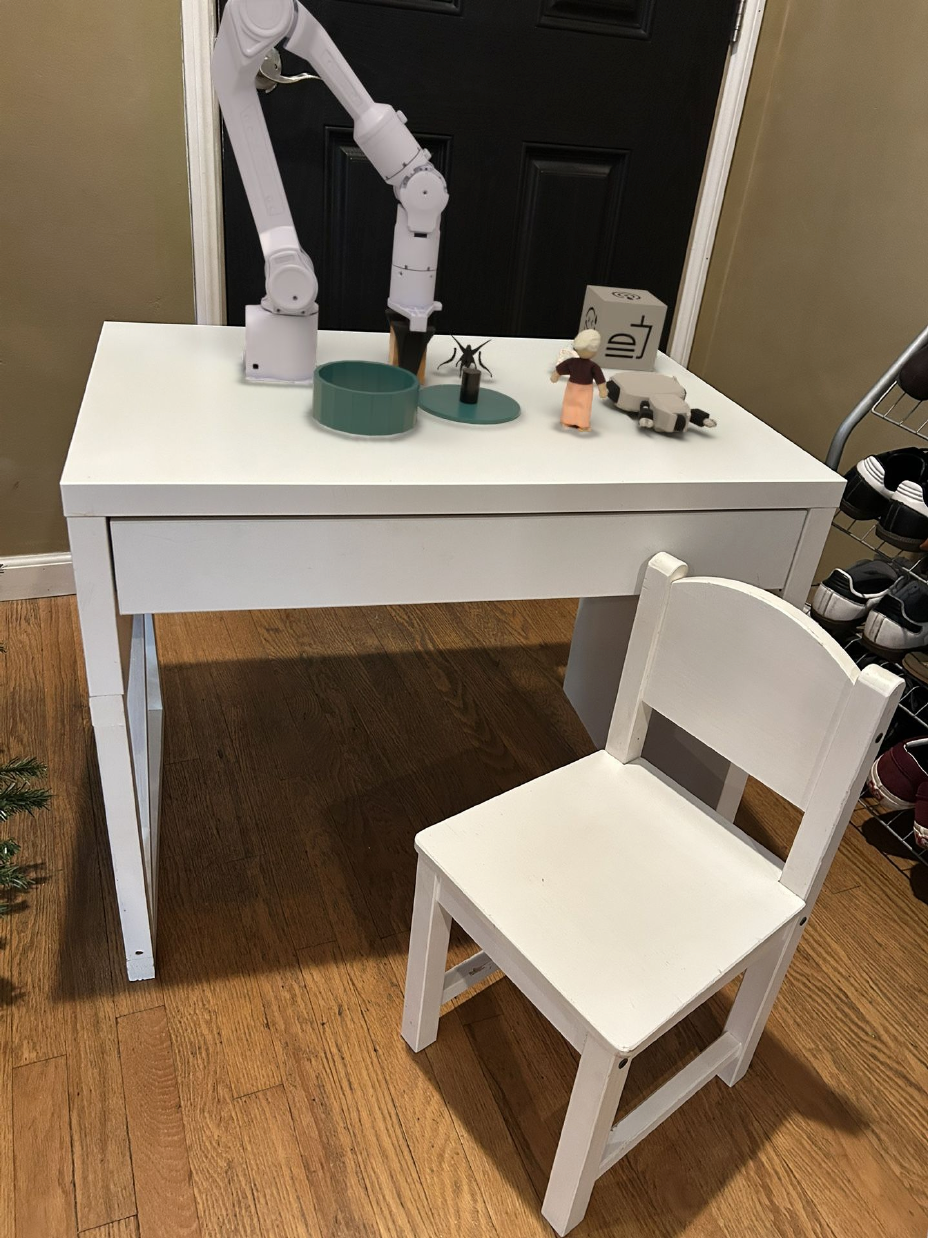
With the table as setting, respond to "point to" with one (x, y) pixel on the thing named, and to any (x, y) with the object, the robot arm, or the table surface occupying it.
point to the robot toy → (655, 401)
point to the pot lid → (468, 401)
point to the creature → (467, 357)
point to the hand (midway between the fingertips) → (405, 370)
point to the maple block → (394, 357)
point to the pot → (365, 397)
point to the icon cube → (624, 326)
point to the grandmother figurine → (581, 381)
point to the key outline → (570, 353)
